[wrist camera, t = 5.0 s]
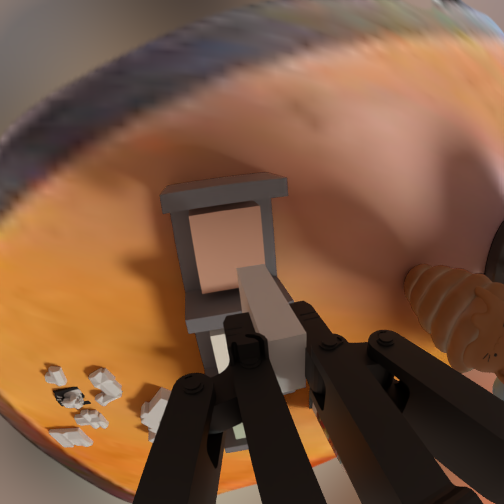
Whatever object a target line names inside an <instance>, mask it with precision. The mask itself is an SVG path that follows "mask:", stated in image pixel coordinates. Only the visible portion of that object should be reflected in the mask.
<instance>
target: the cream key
mask: <svg viewBox="0 0 504 504" xmlns="http://www.w3.org/2000/svg"><path fill="white" fill-rule="evenodd" d="M210 337H211V342H212V346H213V351H214V355H215V360H216V364H217V368H218V372H219V373H221V372H223V371H224V370H225V369H226V368H227V366H228V364H229V355H228V349H227V343H226V337H225V332H224V328H222V329H216V330H210Z"/></svg>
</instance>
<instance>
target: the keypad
mask: <svg viewBox="0 0 504 504" xmlns="http://www.w3.org/2000/svg"><path fill="white" fill-rule="evenodd" d="M284 196H288V186H287V178H286V177H283V176H279V175H275V174H271V173H267V172H262V173H252V174H244V175H235V176H227V177H220V178H213V179H206V180H199V181H192V182H186V183H180V184H174V185H168V186H166V188H165V189H164V190H163V191H162V193H161V194H160V201H161V207H162V213H163V214H166V213H170V215H171V221H172V227H173V232H174V238H175V243H176V249H177V254H178V259H179V264H180V269H181V274H182V279H183V283H184V288H185V322H186V325H187V329H188V333H189V334H191V333H195V335H196V339H197V343H198V347H199V351H200V355H201V358H202V362H203V366H204V369H205V375H207V376H209V377H210V378H211V377H213V376H216V375H218V374H219V372H218V368H217V364H216V360H215V355H214V351H213V346H212V342H211V337H210V330H216V329H222V328H224V326H223V322H224V320H225V318H226V316H228V315H234V314H240V313H242V307H241V300H240V292H239V288H235V289H229V290H223V291H217V292H211V293H205V294H202V290H201V285H200V279H199V274H198V269H197V263H196V257H195V252H194V246H193V240H192V234H191V228H190V221H189V210H190V209H196V208H203V207H209V206H216V205H223V204H230V203H237V202H244V201H252V200H253V201H255V202H256V203H257V204H258V205H260V211H261V222H262V233H263V244H264V255H265V266H266V268H267V269H268V271H269V272H270V274H271V276H272V277H273V279H274V281H275V282H276V284H277V286H278V287H279V289H280V290H281V292H282V294H283V295H284V297H285V299H286V300H287V302H288V304H289V303H294V300H293V299H292V297H291V296H290V295H289V293H288V292H287V290H286V289H285V287H284V286H283V284H282V283H281V282H280V280H279V279H278V277H277V270H276V256H275V243H274V229H273V217H272V204H271V198H276V197H284ZM292 392H295V390H293V391H289V392H284V393H283V395H285V394H288V393H292ZM224 448H225V451H226V453H230V452H236V451H242V450H247V449H248V444H247V440H246V438H241V439H236V437H235V434H234V430H233V427H232V428H230V429H228V430H226V438H225V445H224Z"/></svg>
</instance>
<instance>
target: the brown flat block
mask: <svg viewBox="0 0 504 504" xmlns="http://www.w3.org/2000/svg"><path fill="white" fill-rule="evenodd" d="M189 221H190V228H191V234H192V240H193V246H194V252H195V257H196V263H197V269H198V274H199V279H200V285H201V290H202V294H205V293H211V292H217V291H223V290H229V289H235V288H239V285H238V277H237V269H236V268H241V267H247V266H253V265H259V264H265V255H264V244H263V233H262V222H261V211H260V205H258V204H257V203H256V202H255V201H253V200H252V201H244V202H237V203H230V204H223V205H216V206H209V207H203V208H196V209H190V210H189Z"/></svg>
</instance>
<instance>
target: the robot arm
mask: <svg viewBox="0 0 504 504" xmlns="http://www.w3.org/2000/svg"><path fill="white" fill-rule="evenodd" d="M236 269H237V277H238V285H239V292H240V300H241V307H242V313H240V314H234V315H228V316H226V318H225V320H224V322H223V326H224V332H225V337H226V343H227V349H228V355H229V364H228V366H227V368H226V369H225V370H224V371H223V372H221V373H219V374H218V375H216V376H213V377H211V378H210V377H209V376H207V375H205V374H201V373H190V374H187V375H184V376H182V377H181V378H179V379H178V380H177V381H176V383H175V384H174V386H173V389H172V391H171V394H170V397H169V399H168V402H167V405H166V408H165V410H164V413H163V416H162V419H161V422H160V424H159V427H158V430H157V433H156V436H155V439H154V441H153V444H152V447H151V450H150V453H149V456H148V459H147V462H146V465H145V467H144V470H143V473H142V476H141V479H140V482H139V485H138V488H137V491H136V494H135V497H134V501H133V504H216V498H217V491H218V484H219V478H220V471H221V465H222V458H223V451H224V445H225V438H226V430H228V429H230V428H232V427H234V426H237V425H239V424H241V423H243V427H244V431H245V436H246V440H247V444H248V449H249V453H250V457H251V461H252V465H253V469H254V473H255V477H256V481H257V485H258V489H259V493H260V497H261V501H262V504H327V503H326V500H325V498H324V496H323V493H322V491H321V488H320V486H319V484H318V481H317V479H316V476H315V474H314V472H313V469H312V467H311V464H310V462H309V459H308V457H307V454H306V452H305V449H304V447H303V444H302V442H301V439H300V437H299V434H298V432H297V429H296V427H295V424H294V421H293V419H292V416H291V414H290V411H289V409H288V406H287V404H286V401H285V398H284V396H283V393H284V392H289V391H293V390H297V389H301V388H305V387H306V379H307V381H308V383H309V385H310V393H309V408H312V406H313V403H314V405H315V408H316V410H317V412H318V414H319V416H320V418H321V420H322V422H323V424H324V426H325V429H326V431H327V433H328V435H329V437H330V439H331V441H332V443H333V445H334V447H335V449H336V451H337V453H338V456H339V458H340V460H341V462H342V464H343V466H344V468H345V470H346V472H347V474H348V476H349V478H350V480H351V482H352V484H353V486H354V488H355V490H356V492H357V495H358V497H359V499H360V501H361V503H362V504H483V503H482V501H481V500H480V498H479V497H478V496H477V494H476V493H475V492H474V491H473V490H472V489H470V488H468V487H459V486H455V485H453V484H452V483H451V481H450V480H449V478H448V477H447V476H446V475H445V473H444V471H443V470H442V469H441V467H440V466H439V464H438V463H437V462H436V460H435V459H437V460H438V461H439V462H441V463H442V464H443V465H444V466H445V467H447V468H448V469H449V470H450V471H451V472H453V473H454V474H455V475H457V476H458V477H459V478H460V479H462V480H463V481H464V482H465V483H467V484H468V485H469V486H470V487H472V488H473V489H474V490H476V491H477V492H478V493H479V494H481V495H482V496H483V497H485V498H486V499H488V500H489V501H491V502H493V503H495V504H504V384H503V383H502V382H501V381H500V380H499V379H498V377H497V378H496V380H495V381H494V384H493V394H492V393H490V392H489V391H487V390H486V389H484V388H483V387H481V386H480V385H478V384H476V383H475V382H473V381H471V380H470V379H469V378H467V377H465V376H464V375H462V374H461V373H459V372H458V371H456V370H454V369H453V368H451V367H450V366H448V365H447V364H445V363H443V362H442V361H440V360H439V359H437V358H436V357H434V356H432V355H431V354H429V353H428V352H426V351H425V350H423V349H421V348H420V347H418V346H417V345H415V344H413V343H412V342H410V341H409V340H407V339H406V338H404V337H402V336H401V335H399V334H398V333H395V332H393V331H389V330H379V331H376V332H373V333H372V334H371V335H370V337H369V339H368V342H363V343H348V342H347V340H346V339H345V338H344V337H342V336H340V335H338V334H332V332H331V331H330V330H329V328H328V327H327V326H326V324H325V323H324V322H323V320H322V319H321V318H320V316H319V315H318V313H316V311H315V309H314V308H313V307H312V305H310V304H308V303H306V302H305V301H299V302H294V303H289V304H288V302H287V300H286V299H285V297H284V295H283V294H282V292H281V290H280V289H279V287H278V286H277V284H276V282H275V281H274V279H273V277H272V276H271V274H270V272H269V271H268V269H267V268H266V266H265V264H259V265H253V266H247V267H241V268H236ZM485 275H486V276H487V277H488V278H489V279H490V280H491V281H492V282H498V283H502V284H504V222H503V223H502V224H501V226H500V228H499V230H498V232H497V234H496V236H495V238H494V241H493V243H492V246H491V249H490V253H489V256H488V260H487V265H486V270H485ZM394 376H396V377H397V378H398V379H400V381H397V380H395V379H394ZM434 458H435V459H434Z"/></svg>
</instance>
